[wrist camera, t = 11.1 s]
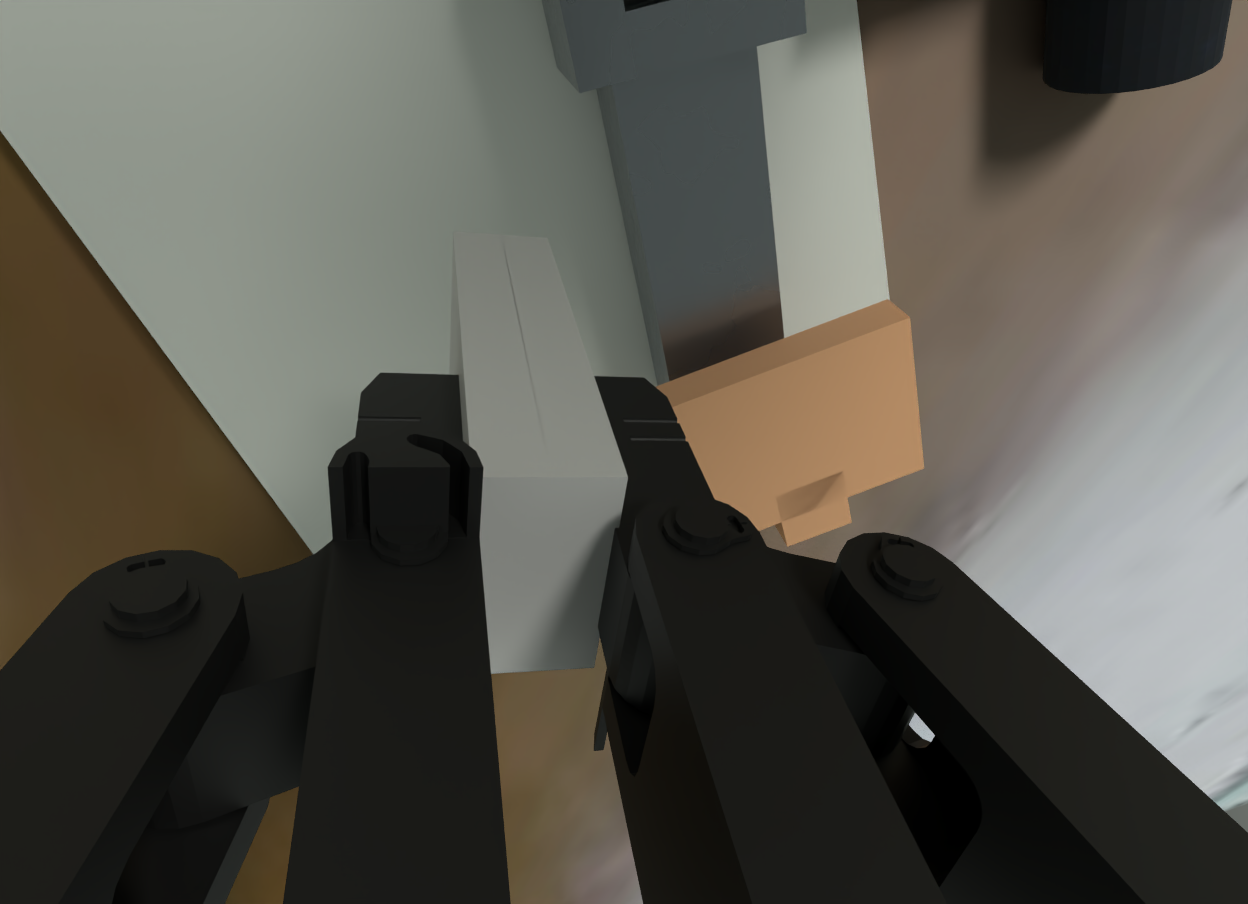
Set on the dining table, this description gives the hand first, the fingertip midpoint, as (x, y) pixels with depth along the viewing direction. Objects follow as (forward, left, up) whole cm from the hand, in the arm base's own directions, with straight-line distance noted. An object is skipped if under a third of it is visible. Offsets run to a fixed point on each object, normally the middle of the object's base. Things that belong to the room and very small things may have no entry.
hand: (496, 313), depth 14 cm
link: (-6, +2, -13) cm, 14 cm away
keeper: (-7, +12, -14) cm, 20 cm away
